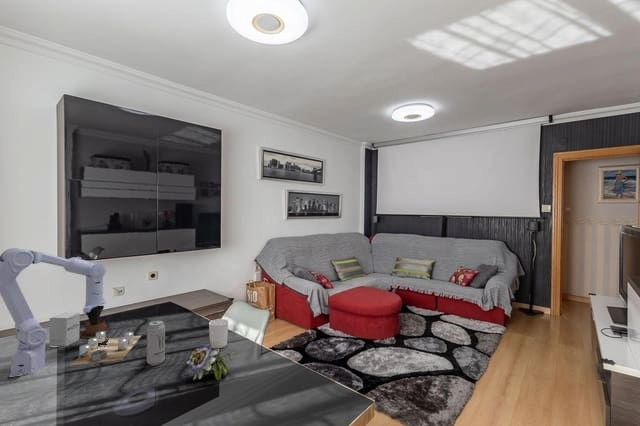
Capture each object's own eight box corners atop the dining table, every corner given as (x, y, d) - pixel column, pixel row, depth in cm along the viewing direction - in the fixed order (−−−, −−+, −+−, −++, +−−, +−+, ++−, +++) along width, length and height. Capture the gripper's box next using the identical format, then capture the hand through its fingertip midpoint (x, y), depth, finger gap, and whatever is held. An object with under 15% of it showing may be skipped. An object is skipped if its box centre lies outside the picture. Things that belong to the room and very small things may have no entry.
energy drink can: (157, 367, 111) (157, 326, 112) (142, 365, 113) (143, 325, 113) (168, 359, 117) (168, 320, 117) (154, 358, 119) (155, 319, 119)
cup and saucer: (83, 343, 133) (83, 328, 133) (75, 336, 140) (75, 322, 140) (114, 334, 142) (115, 321, 142) (105, 328, 149) (105, 316, 150)
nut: (109, 355, 119) (109, 349, 119) (104, 360, 115) (104, 354, 115) (93, 356, 118) (93, 350, 118) (88, 362, 113) (88, 355, 114)
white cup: (231, 341, 134) (231, 319, 134) (223, 349, 126) (223, 325, 126) (213, 341, 135) (214, 318, 135) (205, 348, 127) (205, 324, 127)
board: (122, 361, 116) (122, 359, 116) (69, 367, 111) (69, 365, 111) (141, 337, 139) (141, 335, 139) (98, 341, 134) (98, 339, 134)
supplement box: (65, 348, 127) (66, 317, 127) (48, 348, 127) (48, 317, 127) (80, 340, 135) (80, 312, 135) (63, 340, 135) (63, 312, 135)
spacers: (123, 353, 120) (123, 343, 120) (77, 358, 116) (77, 348, 116) (137, 336, 137) (137, 327, 137) (97, 340, 133) (97, 331, 133)
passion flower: (196, 397, 104) (176, 362, 106) (223, 374, 114) (204, 342, 116) (214, 386, 97) (193, 349, 99) (241, 363, 108) (221, 330, 110)
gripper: (97, 295, 121) (97, 330, 121) (112, 287, 135) (112, 318, 135) (77, 297, 119) (76, 331, 119) (93, 288, 133) (93, 319, 133)
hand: (94, 324), depth 127 cm, fingers closed
